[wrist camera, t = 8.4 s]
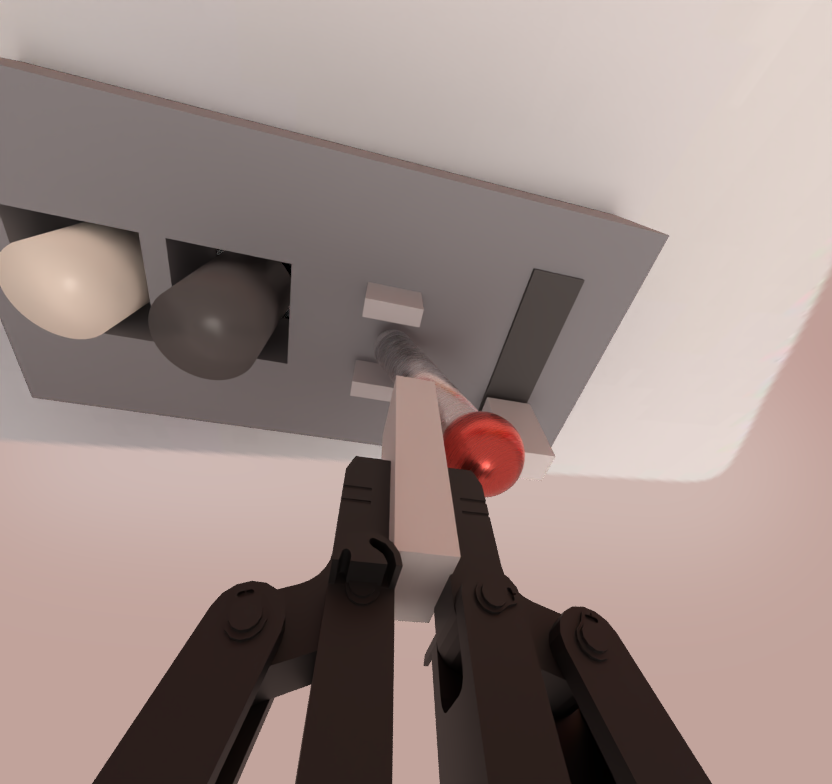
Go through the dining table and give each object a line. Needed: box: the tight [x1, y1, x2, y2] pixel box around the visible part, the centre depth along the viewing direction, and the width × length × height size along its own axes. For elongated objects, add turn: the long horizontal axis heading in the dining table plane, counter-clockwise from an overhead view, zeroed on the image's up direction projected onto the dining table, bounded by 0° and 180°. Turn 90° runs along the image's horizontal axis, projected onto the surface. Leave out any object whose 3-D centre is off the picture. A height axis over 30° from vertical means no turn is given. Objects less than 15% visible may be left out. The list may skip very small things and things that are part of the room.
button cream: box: [0, 222, 150, 339], centre depth 17 cm, size 4×4×6 cm
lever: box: [373, 330, 525, 497], centre depth 15 cm, size 3×3×9 cm
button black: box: [148, 250, 291, 380], centre depth 17 cm, size 4×4×6 cm
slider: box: [482, 397, 555, 481], centre depth 19 cm, size 2×2×4 cm
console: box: [0, 58, 669, 447], centre depth 19 cm, size 28×14×7 cm, turn 77°
